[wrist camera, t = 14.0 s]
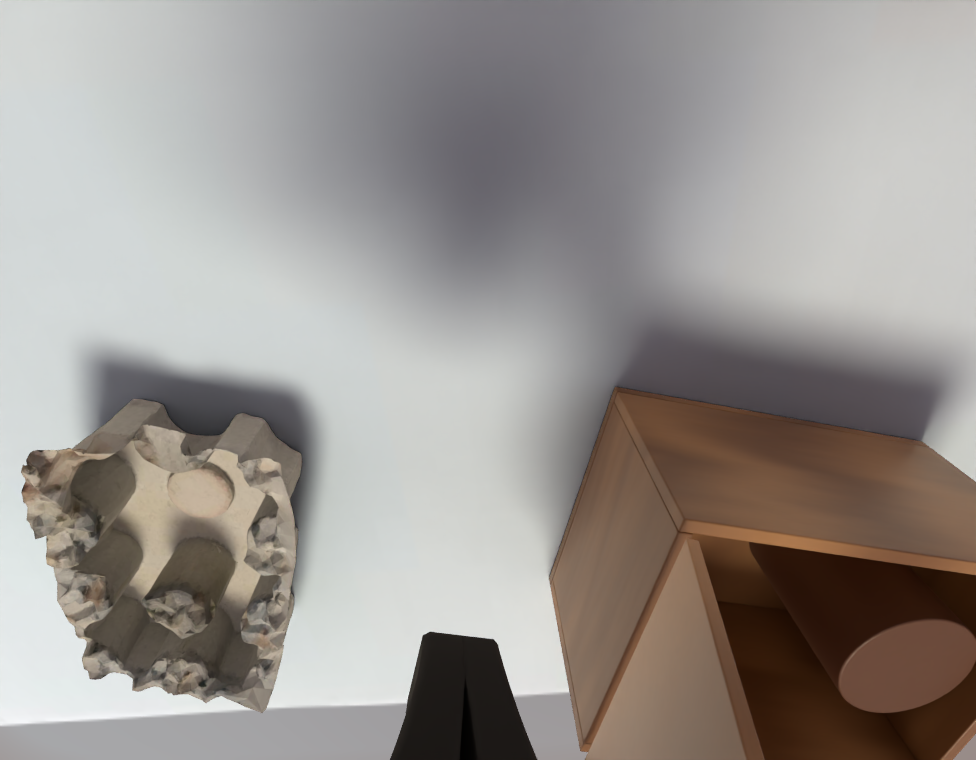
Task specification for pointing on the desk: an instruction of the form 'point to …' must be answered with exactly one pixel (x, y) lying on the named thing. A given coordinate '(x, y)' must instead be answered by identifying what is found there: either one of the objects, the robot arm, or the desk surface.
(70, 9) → the desk surface
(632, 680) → the flap
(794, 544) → the brown box
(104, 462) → the egg carton
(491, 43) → the desk surface
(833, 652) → the brown cylinder
